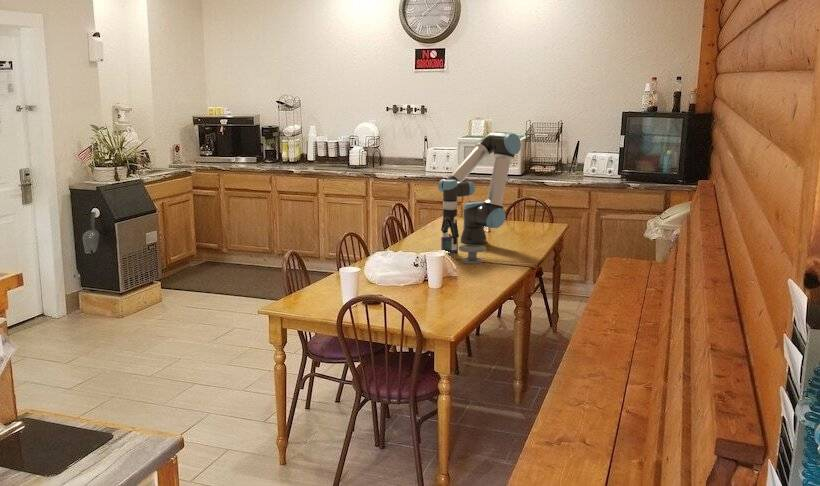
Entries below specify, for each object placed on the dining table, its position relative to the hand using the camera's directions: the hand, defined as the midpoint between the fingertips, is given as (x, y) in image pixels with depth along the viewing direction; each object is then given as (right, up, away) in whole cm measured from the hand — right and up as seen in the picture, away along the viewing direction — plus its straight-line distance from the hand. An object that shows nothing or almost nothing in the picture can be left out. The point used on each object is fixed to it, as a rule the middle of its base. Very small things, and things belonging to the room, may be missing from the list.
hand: (449, 247), depth 400 cm
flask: (0, -3, +1) cm, 4 cm away
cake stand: (+11, -7, -19) cm, 23 cm away
